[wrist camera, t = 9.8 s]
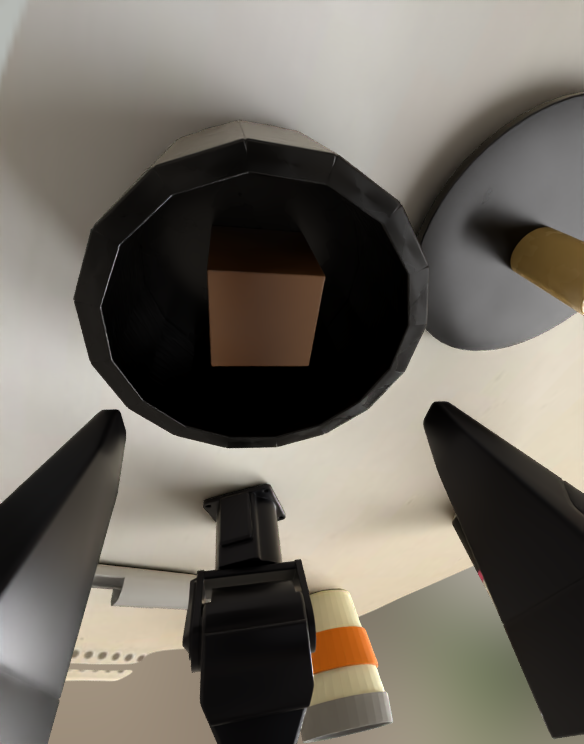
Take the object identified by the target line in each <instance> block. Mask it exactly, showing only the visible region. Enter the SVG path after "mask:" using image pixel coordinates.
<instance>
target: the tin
mask: <svg viewBox="0 0 584 744" xmlns="http://www.w3.org/2000/svg"><path fill="white" fill-rule="evenodd" d="M212 226H225V227H238V228H251V229H265V230H278V231H291V232H302V233H303V235H304V237H305V239H306V241H307V242H308V244H309V246H310V248H311V250H312V252H313V254H314V256H315V258H316V260H317V262H318V263H319V265H320V267H321V269H322V271H323V273H324V275H325V281H324V287H323V292H322V297H321V303H320V308H319V313H318V319H317V324H316V329H315V335H314V340H313V345H312V351H311V356H310V361H309V365H308V366H211V358H210V334H209V311H208V288H207V264H208V255H209V246H210V236H211V227H212ZM428 285H429V265H428V261H427V259H426V257H425V254H424V252H423V250H422V248H421V246H420V243H419V241H418V239H417V237H416V234H415V232H414V230H413V228H412V226H411V223H410V221H409V219H408V217H407V214H406V212H405V210H404V208H403V206H402V205H401V204H400V201H398V200H397V199H396V198H394V197H393V196H392V195H390V194H389V193H388V192H387V191H385V190H384V189H383V188H381V187H380V186H379V185H377V184H376V183H375V182H374V181H372V180H371V179H370V178H368V177H367V176H366V175H364V174H363V173H362V172H361V171H359V170H358V169H357V168H355V167H354V166H353V165H351V164H350V163H349V162H348V161H346V160H345V159H344V158H342V157H341V156H340V155H338V154H337V153H335V152H333V151H331V150H330V149H328V148H326V147H325V146H323V145H321V144H320V143H318V142H316V141H315V140H313V139H311V138H309V137H308V136H306V135H304V134H303V133H301V132H298V131H296V130H290V129H285V128H280V127H275V126H272V125H268V124H259V123H253V122H248V121H242V120H239V121H238V120H236V121H232V122H229V123H226V124H223V125H219V126H215V127H210V128H207V129H205V130H202V131H200V132H197V133H194V134H190V135H187V136H184V137H181V138H180V139H177V140H176V141H175V142H174V143H173V144H172V145H171V146H170V147H169V148H168V149H167V150H166V151H165V152H164V154H163V155H162V156H161V157H160V158H159V159H158V160H157V161H156V162H155V163H154V164H153V165H152V166H151V167H150V168H149V169H148V170H147V171H146V172H145V173H144V174H143V175H142V176H141V177H140V178H139V179H138V180H137V181H136V182H135V183H134V184H133V185H132V186H131V187H130V188H129V189H128V190H127V191H126V192H125V193H124V195H123V196H122V197H121V198H120V199H119V200H118V201H117V202H116V203H115V204H114V205H113V206H112V207H111V208H110V209H109V210H108V211H107V212H106V213H105V214H104V215H103V216H102V217H101V218H100V219H99V220H98V222H97V223H96V224H95V225H94V226H93V228H92V229H91V232H90V235H89V239H88V243H87V247H86V251H85V255H84V259H83V263H82V267H81V271H80V275H79V278H78V282H77V286H76V290H75V294H74V298H73V299H74V300H75V301H74V303H75V307H76V310H77V314H78V318H79V322H80V326H81V329H82V333H83V337H84V341H85V345H86V348H87V352H88V356H89V360H90V362H91V364H92V366H93V367H94V368H95V369H96V370H97V372H98V373H99V374H100V375H101V376H102V378H103V379H104V380H105V381H106V382H107V384H108V385H109V386H110V387H111V388H112V390H113V391H114V392H115V393H116V395H117V396H118V397H119V398H120V399H121V401H122V402H123V403H124V404H125V405H126V407H128V408H129V409H130V410H132V411H134V412H135V413H137V414H139V415H140V416H142V417H144V418H145V419H147V420H149V421H151V422H152V423H154V424H156V425H157V426H159V427H161V428H163V429H164V430H166V431H168V432H169V433H171V434H173V435H176V436H179V437H183V438H187V439H191V440H196V441H200V442H204V443H208V444H212V445H216V446H220V447H224V448H225V447H226V448H261V447H279V446H283V445H286V444H290V443H294V442H297V441H301V440H305V439H309V438H312V437H316V436H320V435H323V434H324V433H325V434H326V433H328V432H330V431H331V430H333V429H335V428H337V427H338V426H340V425H342V424H344V423H345V422H347V421H349V420H351V419H352V418H354V417H356V416H358V415H359V414H361V413H363V412H365V411H366V410H368V409H369V408H370V407H371V406H372V405H373V404H374V403H375V402H376V401H377V400H378V399H379V398H380V397H381V396H382V395H383V394H384V393H385V392H386V391H387V390H388V389H389V388H390V387H391V385H392V384H393V383H394V382H395V381H396V380H397V379H398V378H399V377H400V376H401V375H402V374H403V372H405V370H406V368H407V366H408V364H409V361H410V359H411V357H412V355H413V353H414V351H415V349H416V347H417V344H418V342H419V340H420V338H421V336H422V334H423V332H424V330H425V327H426V325H427V310H428Z"/></svg>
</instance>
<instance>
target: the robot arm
mask: <svg viewBox="0 0 584 744" xmlns="http://www.w3.org/2000/svg"><path fill="white" fill-rule="evenodd" d="M423 425H424V430H425V433H426V436H427V439H428V442H429V446H430V449H431V452H432V455H433V459H434V462H435V465H436V468H437V471H438V473H439V476H440V478H441V481H442V483H443V485H444V488H445V490H446V492H447V495H448V497H449V499H450V502H451V504H452V506H453V509H454V511H455V513H456V516H457V518H458V520H459V523H460V525H461V527H462V530H463V532H464V534H465V537H466V539H467V541H468V544H469V546H470V548H471V551H472V553H473V555H474V558H475V560H476V562H477V565H478V567H479V569H480V572H481V574H482V576H483V579H484V581H485V583H486V586H487V588H488V590H489V593H490V595H491V597H492V600H493V602H494V604H495V607H496V609H497V611H498V614H499V616H500V618H501V621H502V623H503V624H504V628H505V630H506V633H507V635H508V638H509V640H510V642H511V644H512V647H513V649H514V652H515V654H516V656H517V658H518V661H519V663H520V666H521V668H522V670H523V673H524V675H525V677H526V679H527V682H528V684H529V687H530V689H531V691H532V693H533V696H534V698H535V701H536V703H537V705H538V708H539V710H540V712H541V714H542V717H543V719H544V722H545V724H546V726H547V728H548V730H549V732H550V734H551V736H552V738H554V739H556V738H562V737H569V736H576V735H582V734H584V493H582V492H581V491H579V490H578V489H576V488H575V487H573V486H572V485H570V484H569V483H567V482H566V481H563V480H562V479H561V478H560V477H558V476H557V475H555V474H554V473H553V472H551V471H550V470H548V469H547V468H545V467H544V466H542V465H541V464H539V463H538V462H536V461H535V460H533V459H532V458H530V457H529V456H527V455H526V454H524V453H523V452H522V451H520V450H519V449H517V448H516V447H514V446H513V445H511V444H510V443H508V442H507V441H505V440H504V439H502V438H501V437H499V436H498V435H496V434H495V433H493V432H492V431H490V430H489V429H488V428H486V427H485V426H483V425H482V424H480V423H479V422H477V421H476V420H474V419H473V418H471V417H470V416H468V415H467V414H465V413H464V412H462V411H461V410H459V409H458V408H456V407H455V406H454V405H452V404H451V403H449V402H446V401H438V402H434V403H433V404H432V405H431V407H430V409H429V411H428V412H427V414H426V416H425V418H424V422H423ZM125 442H126V429H125V426H124V423H123V419H122V416H121V413H120V411H119V410H116V409H113V410H102V411H100V412H99V413H97V414H96V415H95V416H94V417H93V418H92V419H91V420H90V421H89V422H88V423H87V424H86V425H85V426H84V427H82V428H81V429H80V430H79V431H78V432H77V433H76V434H75V435H74V436H73V437H72V438H71V439H70V440H69V441H67V442H66V443H65V444H64V445H63V446H62V447H61V448H60V449H59V450H58V451H57V452H56V453H55V454H54V455H53V456H51V457H50V458H49V459H48V460H47V461H46V462H45V463H44V464H43V465H42V466H41V467H40V468H39V469H38V470H36V471H35V472H34V473H33V474H32V475H31V476H30V477H29V478H28V479H27V480H26V481H25V482H24V483H23V484H21V485H20V486H19V487H18V488H17V489H16V490H15V491H14V492H13V493H12V494H11V495H10V496H9V497H8V498H6V499H5V500H4V501H3V502H2V503H1V504H0V744H48V740H49V737H50V733H51V730H52V726H53V723H54V719H55V715H56V712H57V708H58V704H59V698H60V697H61V693H62V690H63V686H64V682H65V679H66V676H67V672H68V668H69V665H70V661H71V658H72V654H73V651H74V647H75V643H76V640H77V636H78V633H79V629H80V626H81V622H82V619H83V615H84V611H85V608H86V604H87V601H88V597H89V594H90V590H91V586H92V583H93V579H94V576H95V572H96V569H97V565H98V561H99V558H100V554H101V551H102V547H103V544H104V540H105V537H106V533H107V529H108V526H109V522H110V519H111V515H112V512H113V508H114V504H115V501H116V497H117V493H118V487H119V481H120V475H121V468H122V461H123V455H124V448H125ZM203 508H204V509H205V510H206V511H207V512H208V513H209V515H210V516H211V517H212V518H213V519H214V520H215V522H216V562H215V570H211V571H204V570H200V571H197V577H196V578H194V579H193V580H191V581H190V589H189V601H188V609H187V615H186V622H185V628H184V634H183V647H184V648H185V649H186V650H187V652H188V653H189V660H191V670H192V673H193V672H199V671H201V681H200V704H201V707H202V709H203V712H204V714H205V716H206V718H207V721H208V723H209V725H210V728H211V730H212V732H213V735H214V737H215V739H216V742H217V744H297V741H298V738H299V734H300V731H301V727H302V723H303V720H304V716H305V713H306V709H307V708H309V706H310V703H311V699H312V694H313V689H314V677H313V668H312V659H311V653H314V652H315V650H316V626H315V618H314V612H313V607H312V603H311V599H310V594H309V590H308V586H307V582H306V578H305V574H304V570H303V565H302V561H301V559H298V560H295V561H291V562H282V557H281V548H280V540H279V532H278V523H277V521H279V520H283V519H285V512H284V510H283V508H282V506H281V504H280V502H279V500H278V499H277V497H276V495H275V493H274V491H273V489H272V487H271V486H270V485H269V484H263V485H260V486H256V487H252V488H248V489H245V490H241V491H237V492H233V493H230V494H226V495H222V496H218V497H215V498H211V499H207V500H205V501H204V502H203ZM206 599H211V602H207V603H206Z"/></svg>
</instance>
